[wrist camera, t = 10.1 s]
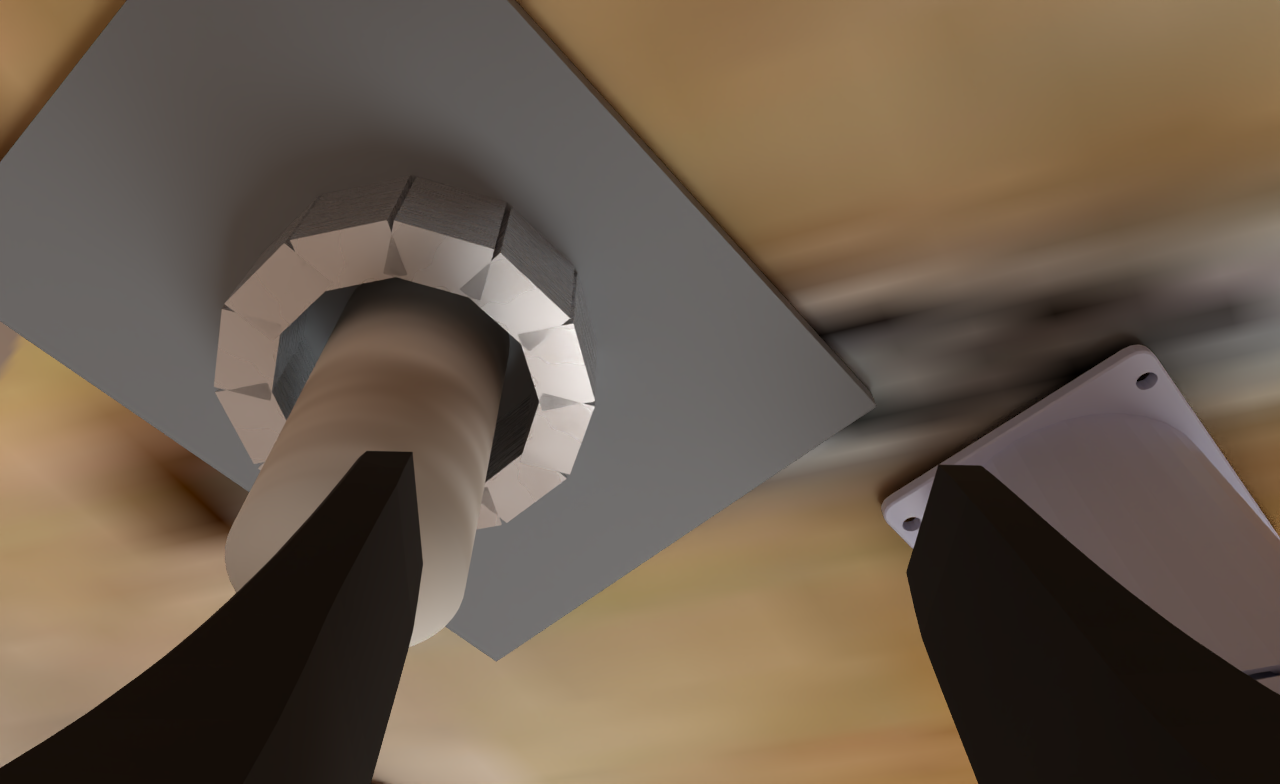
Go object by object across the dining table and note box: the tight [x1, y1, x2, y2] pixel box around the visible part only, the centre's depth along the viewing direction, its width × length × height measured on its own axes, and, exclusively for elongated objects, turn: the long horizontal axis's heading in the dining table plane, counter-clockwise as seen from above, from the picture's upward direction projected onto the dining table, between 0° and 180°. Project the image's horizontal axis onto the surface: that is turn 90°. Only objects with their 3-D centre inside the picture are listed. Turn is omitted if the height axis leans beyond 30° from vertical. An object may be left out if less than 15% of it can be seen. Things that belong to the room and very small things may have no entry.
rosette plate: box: [0, 0, 877, 661], centre depth 23 cm, size 18×14×1 cm
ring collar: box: [214, 175, 597, 529], centre depth 22 cm, size 8×8×2 cm
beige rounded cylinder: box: [225, 277, 510, 647], centre depth 19 cm, size 4×4×8 cm
